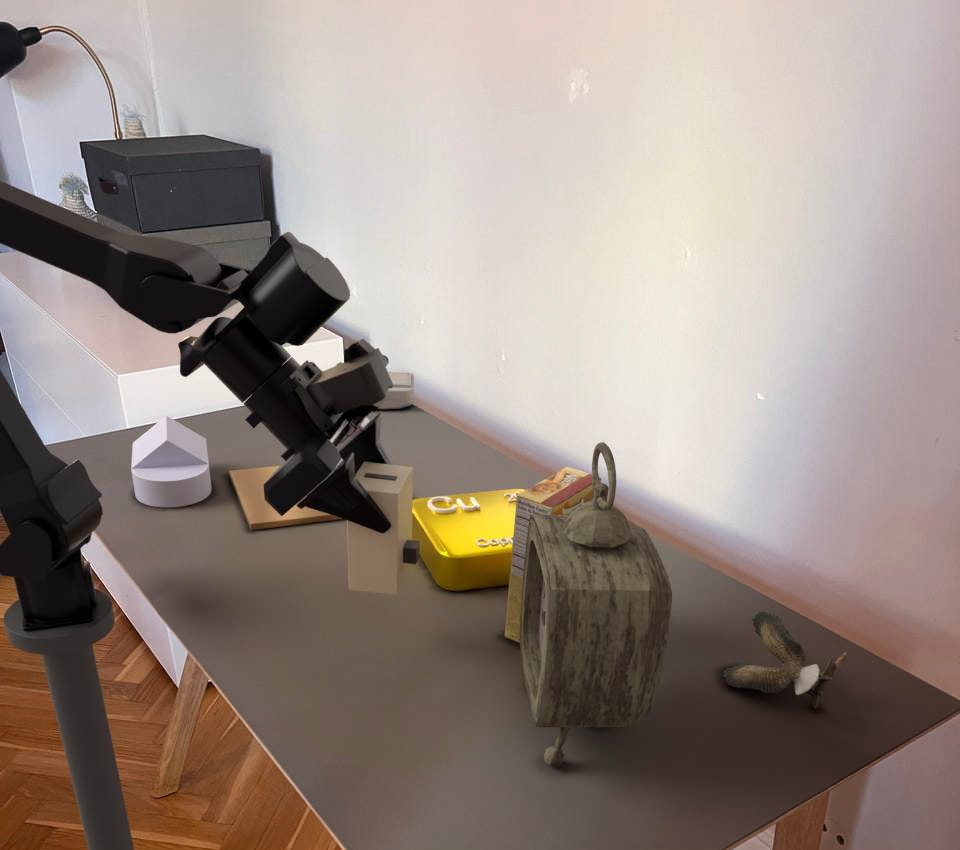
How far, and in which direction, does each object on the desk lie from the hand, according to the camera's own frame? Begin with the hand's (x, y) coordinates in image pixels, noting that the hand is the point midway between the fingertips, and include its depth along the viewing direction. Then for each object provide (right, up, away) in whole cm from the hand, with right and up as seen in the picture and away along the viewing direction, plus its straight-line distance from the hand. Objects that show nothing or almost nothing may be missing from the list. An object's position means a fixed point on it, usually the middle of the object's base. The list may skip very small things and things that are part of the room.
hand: (395, 514), depth 84 cm
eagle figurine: (+35, -16, +3) cm, 38 cm away
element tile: (+8, -2, +23) cm, 24 cm away
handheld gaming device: (-10, +29, +62) cm, 69 cm away
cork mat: (-13, +7, +34) cm, 37 cm away
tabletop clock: (+16, -18, -3) cm, 24 cm away
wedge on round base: (-31, +7, +34) cm, 47 cm away
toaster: (-2, -5, +4) cm, 7 cm away
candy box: (+14, -10, +10) cm, 20 cm away
